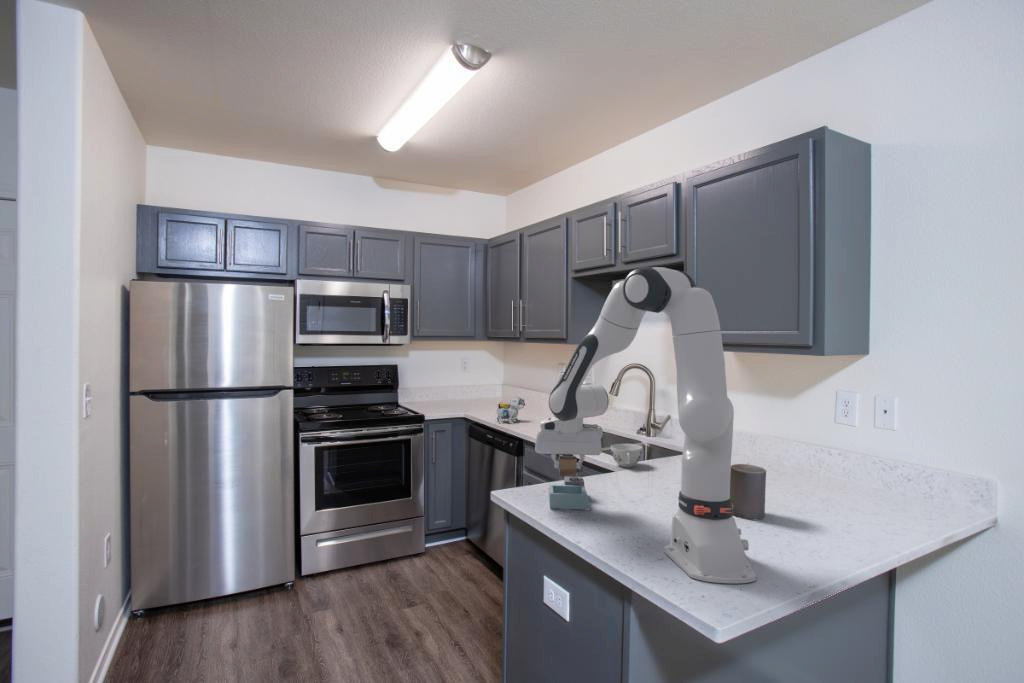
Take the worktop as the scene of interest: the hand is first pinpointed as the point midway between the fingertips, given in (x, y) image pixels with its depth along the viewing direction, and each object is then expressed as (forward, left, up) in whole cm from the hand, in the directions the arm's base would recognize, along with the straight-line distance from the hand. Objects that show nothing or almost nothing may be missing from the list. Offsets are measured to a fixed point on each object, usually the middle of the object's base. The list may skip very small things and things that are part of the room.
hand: (567, 468), depth 161 cm
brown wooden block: (0, 0, -2) cm, 2 cm away
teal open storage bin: (+3, -1, -11) cm, 11 cm away
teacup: (+49, -27, -11) cm, 57 cm away
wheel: (+8, -3, -6) cm, 11 cm away
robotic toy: (+147, +25, -11) cm, 150 cm away
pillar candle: (-4, -53, -11) cm, 54 cm away
